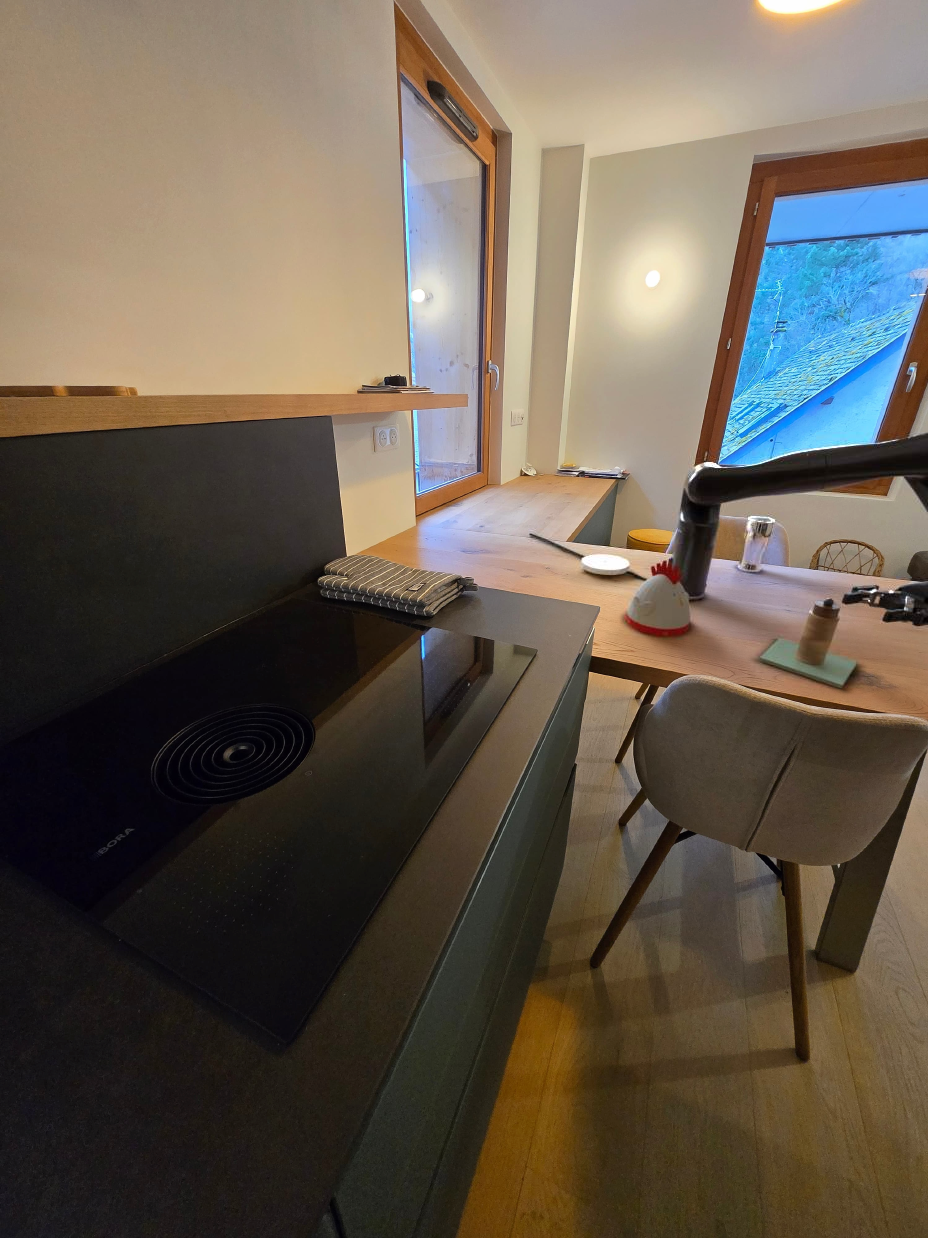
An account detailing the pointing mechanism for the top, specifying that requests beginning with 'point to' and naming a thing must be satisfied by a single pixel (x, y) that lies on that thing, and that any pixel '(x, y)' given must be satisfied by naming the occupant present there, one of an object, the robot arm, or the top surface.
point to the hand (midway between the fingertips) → (864, 607)
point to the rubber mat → (829, 672)
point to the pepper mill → (818, 632)
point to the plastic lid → (605, 564)
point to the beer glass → (755, 543)
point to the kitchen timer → (660, 603)
